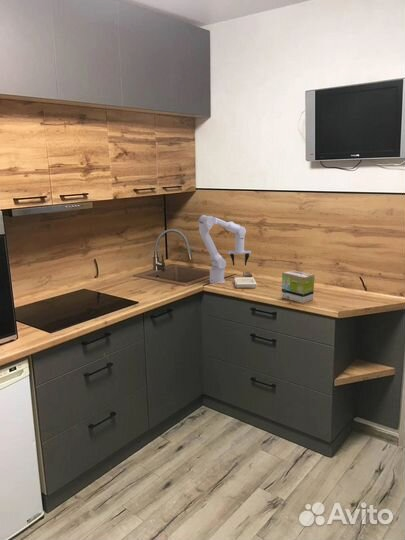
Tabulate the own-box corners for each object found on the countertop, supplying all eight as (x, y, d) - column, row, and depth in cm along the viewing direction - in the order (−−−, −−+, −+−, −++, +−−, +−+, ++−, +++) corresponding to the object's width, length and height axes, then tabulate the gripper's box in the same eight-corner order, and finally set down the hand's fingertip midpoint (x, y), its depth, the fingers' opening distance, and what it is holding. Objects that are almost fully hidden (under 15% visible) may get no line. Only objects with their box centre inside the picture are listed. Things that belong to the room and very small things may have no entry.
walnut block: (244, 282, 295) (244, 274, 294) (243, 279, 303) (243, 271, 302) (252, 282, 295) (252, 274, 294) (250, 279, 303) (250, 271, 302)
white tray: (236, 289, 277) (236, 284, 276) (234, 282, 294) (234, 277, 293) (256, 289, 277) (256, 283, 276) (253, 282, 294) (253, 277, 293)
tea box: (280, 298, 259) (281, 272, 256) (291, 294, 266) (292, 269, 263) (303, 303, 249) (304, 276, 245) (313, 300, 255) (315, 273, 252)
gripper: (228, 245, 294) (228, 266, 297) (251, 245, 294) (251, 266, 297) (228, 243, 301) (228, 264, 304) (250, 243, 301) (250, 264, 304)
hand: (239, 265), depth 301 cm, fingers open, 7 cm apart
